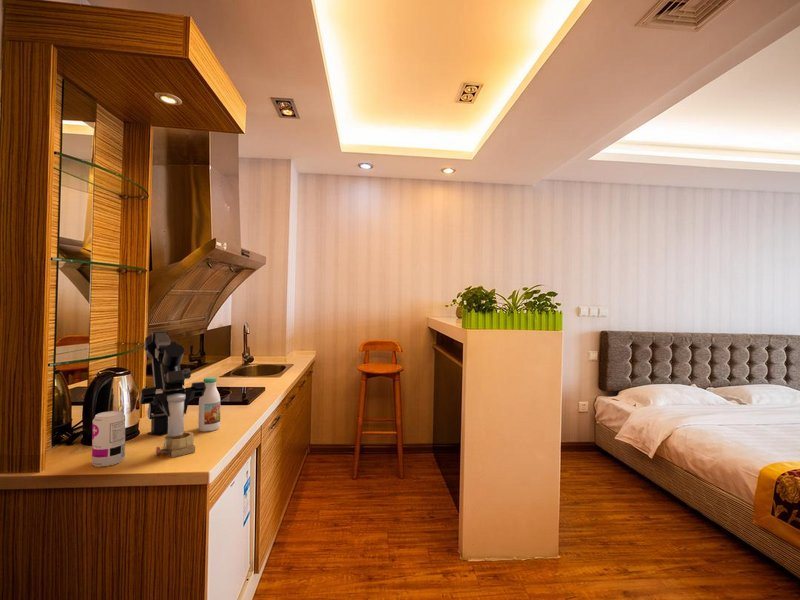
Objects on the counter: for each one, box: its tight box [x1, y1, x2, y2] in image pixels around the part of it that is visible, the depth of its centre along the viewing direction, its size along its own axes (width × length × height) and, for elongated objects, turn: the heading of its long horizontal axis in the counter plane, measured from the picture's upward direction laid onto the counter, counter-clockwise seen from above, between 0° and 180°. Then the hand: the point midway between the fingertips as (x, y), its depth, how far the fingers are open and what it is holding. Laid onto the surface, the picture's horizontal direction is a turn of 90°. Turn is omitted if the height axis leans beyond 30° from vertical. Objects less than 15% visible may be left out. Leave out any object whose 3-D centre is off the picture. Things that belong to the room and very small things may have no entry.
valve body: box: [155, 431, 196, 459], centre depth 133 cm, size 14×11×5 cm
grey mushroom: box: [167, 394, 186, 436], centre depth 129 cm, size 5×5×12 cm
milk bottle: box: [197, 376, 221, 433], centre depth 156 cm, size 8×8×20 cm
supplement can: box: [91, 410, 126, 467], centre depth 123 cm, size 8×8×15 cm
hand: (176, 414), depth 128 cm, fingers closed on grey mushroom, 4 cm apart
